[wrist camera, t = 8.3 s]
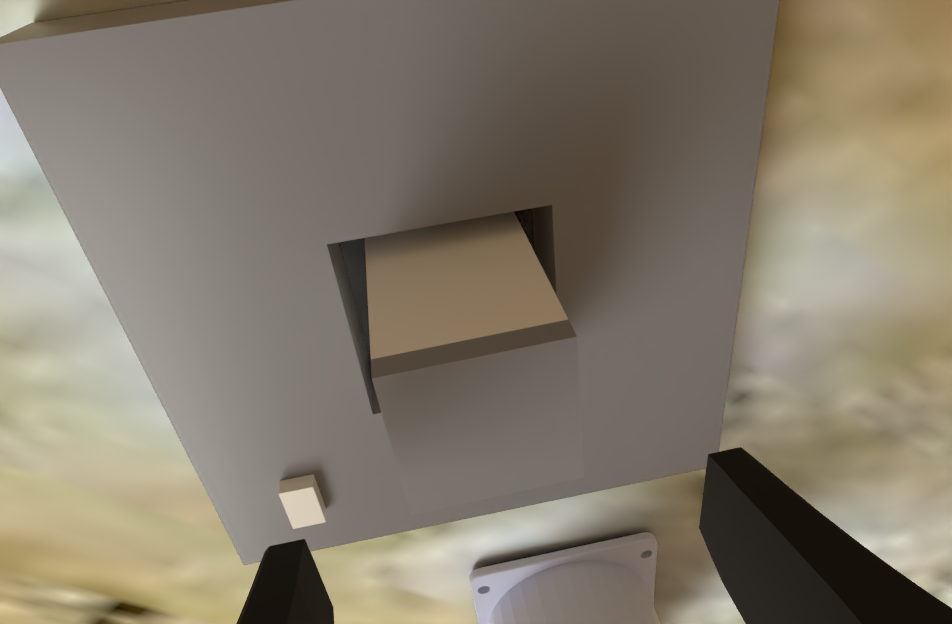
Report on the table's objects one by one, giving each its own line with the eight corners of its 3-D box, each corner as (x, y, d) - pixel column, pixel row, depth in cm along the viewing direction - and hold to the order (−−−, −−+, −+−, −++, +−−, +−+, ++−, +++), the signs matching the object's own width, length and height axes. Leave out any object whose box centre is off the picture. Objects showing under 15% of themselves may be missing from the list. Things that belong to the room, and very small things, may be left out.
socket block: (685, 416, 25) (723, 477, 22) (253, 504, 23) (241, 578, 21) (730, -80, 16) (803, -72, 13) (31, 22, 14) (-34, 53, 12)
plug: (518, 310, 21) (584, 477, 15) (392, 335, 20) (410, 515, 15) (504, 193, 18) (577, 336, 13) (363, 220, 18) (372, 378, 12)
